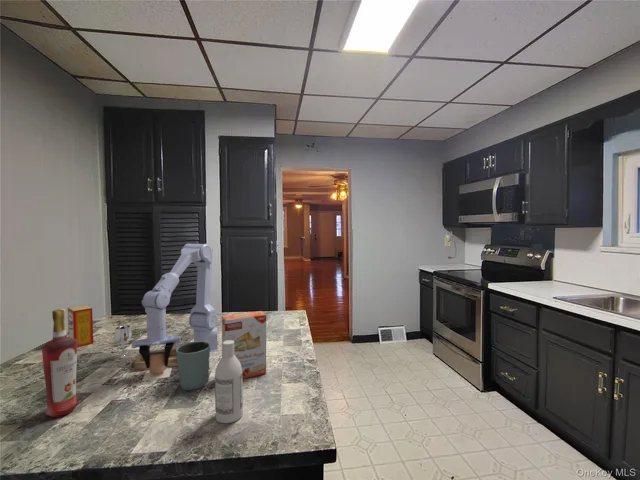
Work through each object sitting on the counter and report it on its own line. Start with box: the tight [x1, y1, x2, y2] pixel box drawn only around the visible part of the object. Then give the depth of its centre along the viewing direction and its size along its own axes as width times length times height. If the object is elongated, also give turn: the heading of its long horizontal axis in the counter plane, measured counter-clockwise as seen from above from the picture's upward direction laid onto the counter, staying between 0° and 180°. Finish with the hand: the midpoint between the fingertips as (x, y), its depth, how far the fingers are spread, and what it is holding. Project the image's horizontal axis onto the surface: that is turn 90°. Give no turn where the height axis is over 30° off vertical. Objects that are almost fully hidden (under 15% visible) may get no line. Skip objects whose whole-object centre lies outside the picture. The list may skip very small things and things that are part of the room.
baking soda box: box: [67, 304, 94, 348], centre depth 134 cm, size 10×6×16 cm
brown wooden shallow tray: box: [133, 347, 179, 373], centre depth 114 cm, size 15×11×3 cm
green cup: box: [176, 340, 211, 391], centre depth 99 cm, size 10×10×12 cm
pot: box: [148, 349, 167, 373], centre depth 104 cm, size 5×5×6 cm
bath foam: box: [214, 340, 244, 424], centre depth 81 cm, size 7×7×20 cm
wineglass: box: [113, 325, 133, 359], centre depth 118 cm, size 6×6×12 cm
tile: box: [141, 367, 173, 382], centre depth 104 cm, size 8×7×1 cm
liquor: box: [41, 308, 79, 418], centre depth 83 cm, size 7×7×28 cm
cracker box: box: [221, 310, 267, 380], centre depth 104 cm, size 14×6×21 cm, turn 117°
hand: (157, 365), depth 104 cm, fingers closed on pot, 5 cm apart
